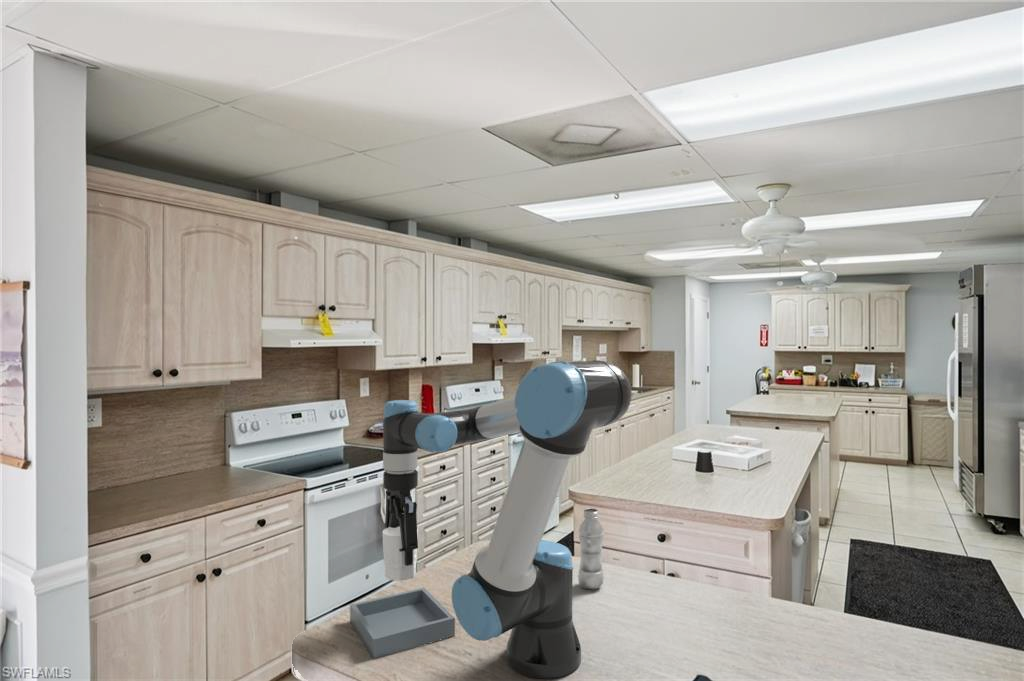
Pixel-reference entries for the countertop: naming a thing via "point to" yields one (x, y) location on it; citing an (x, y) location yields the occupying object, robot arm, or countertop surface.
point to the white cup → (394, 553)
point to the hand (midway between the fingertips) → (400, 571)
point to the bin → (401, 622)
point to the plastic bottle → (591, 551)
